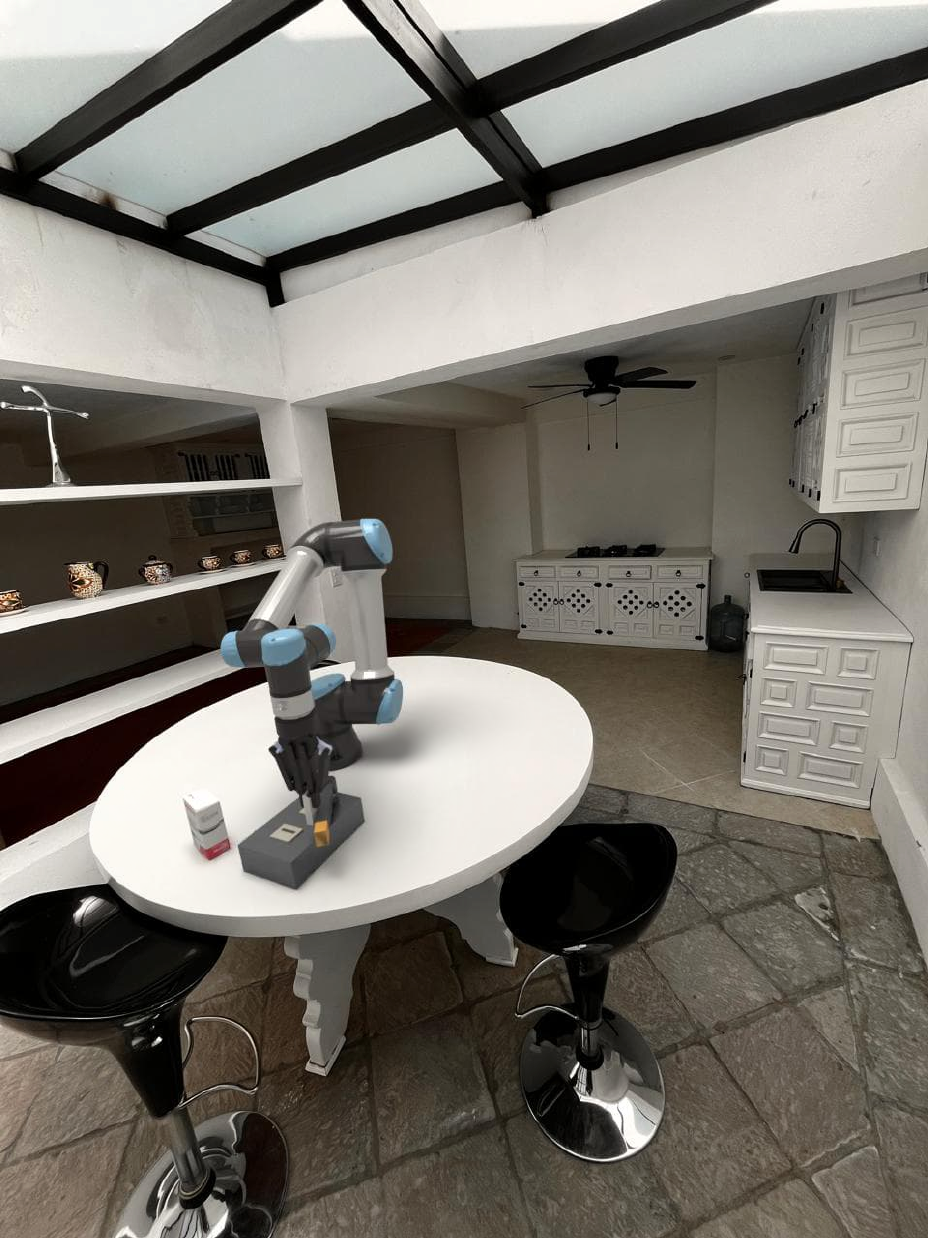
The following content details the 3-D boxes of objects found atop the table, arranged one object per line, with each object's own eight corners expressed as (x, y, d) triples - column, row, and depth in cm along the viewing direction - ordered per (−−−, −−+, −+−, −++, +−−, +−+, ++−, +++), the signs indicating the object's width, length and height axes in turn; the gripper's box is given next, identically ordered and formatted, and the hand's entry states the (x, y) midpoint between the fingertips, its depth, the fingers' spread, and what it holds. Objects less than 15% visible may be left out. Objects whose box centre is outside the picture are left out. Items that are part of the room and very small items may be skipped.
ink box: (232, 848, 107) (220, 799, 104) (208, 861, 103) (195, 811, 100) (216, 832, 112) (205, 785, 109) (193, 844, 109) (180, 797, 106)
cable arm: (312, 847, 93) (310, 833, 93) (321, 789, 112) (319, 777, 111) (332, 843, 94) (329, 829, 93) (338, 786, 113) (336, 774, 112)
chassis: (243, 871, 99) (236, 841, 98) (316, 809, 117) (311, 783, 116) (296, 890, 93) (289, 858, 91) (364, 821, 111) (360, 794, 109)
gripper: (252, 719, 92) (274, 830, 98) (316, 721, 89) (334, 835, 95) (275, 703, 99) (294, 807, 105) (335, 704, 96) (351, 811, 102)
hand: (313, 820), depth 100 cm, fingers closed
